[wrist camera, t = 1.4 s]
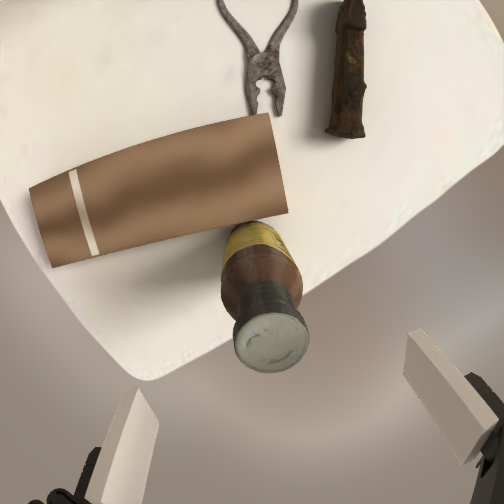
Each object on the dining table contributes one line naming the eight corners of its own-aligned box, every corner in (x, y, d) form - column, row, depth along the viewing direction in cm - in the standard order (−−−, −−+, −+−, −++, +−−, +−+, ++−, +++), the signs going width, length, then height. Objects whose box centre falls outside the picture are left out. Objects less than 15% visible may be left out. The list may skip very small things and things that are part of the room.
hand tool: (354, 142, 31) (371, 140, 26) (321, 134, 30) (334, 131, 26) (364, 9, 25) (379, -6, 21) (334, -1, 25) (346, -17, 20)
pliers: (288, -32, 23) (338, 105, 29) (287, -28, 23) (336, 106, 30) (210, -20, 23) (253, 121, 29) (210, -17, 24) (253, 122, 30)
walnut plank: (46, 184, 30) (28, 188, 26) (264, 117, 29) (268, 112, 26) (67, 257, 33) (51, 268, 29) (282, 206, 33) (288, 213, 29)
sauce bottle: (281, 269, 35) (323, 389, 16) (227, 271, 35) (218, 396, 16) (280, 215, 33) (335, 295, 14) (224, 217, 33) (206, 302, 14)
